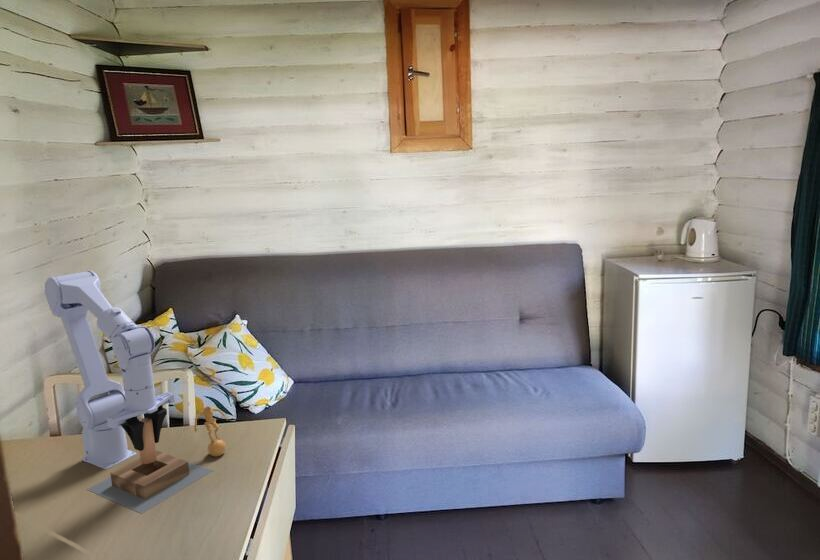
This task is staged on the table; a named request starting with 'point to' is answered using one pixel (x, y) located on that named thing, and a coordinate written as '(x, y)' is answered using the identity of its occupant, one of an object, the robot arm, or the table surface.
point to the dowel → (148, 442)
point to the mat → (143, 505)
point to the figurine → (216, 445)
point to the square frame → (146, 486)
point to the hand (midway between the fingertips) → (146, 445)
